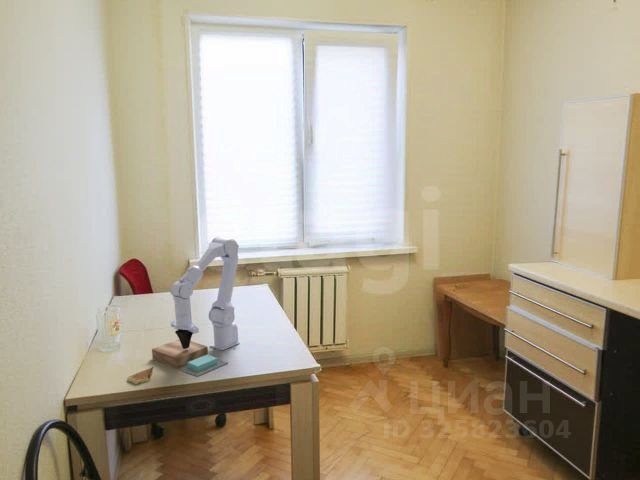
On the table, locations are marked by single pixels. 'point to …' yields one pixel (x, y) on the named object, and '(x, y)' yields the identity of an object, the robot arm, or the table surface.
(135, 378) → the shard
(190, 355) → the brown wooden flat block
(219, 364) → the grey flat slab
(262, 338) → the table surface
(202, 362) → the aqua rectangular block
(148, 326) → the table surface
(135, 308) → the table surface
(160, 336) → the table surface
